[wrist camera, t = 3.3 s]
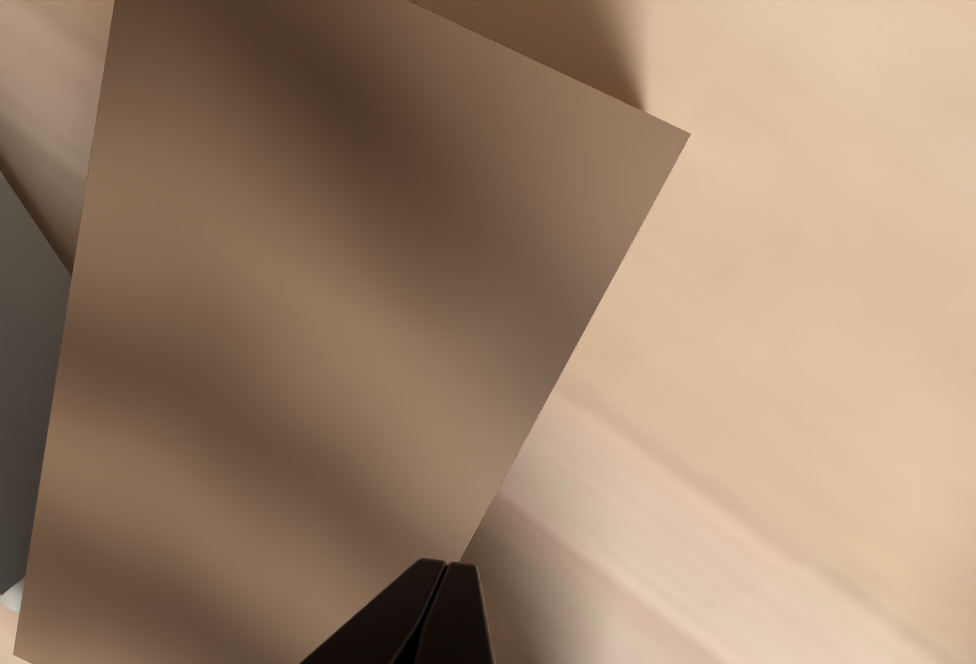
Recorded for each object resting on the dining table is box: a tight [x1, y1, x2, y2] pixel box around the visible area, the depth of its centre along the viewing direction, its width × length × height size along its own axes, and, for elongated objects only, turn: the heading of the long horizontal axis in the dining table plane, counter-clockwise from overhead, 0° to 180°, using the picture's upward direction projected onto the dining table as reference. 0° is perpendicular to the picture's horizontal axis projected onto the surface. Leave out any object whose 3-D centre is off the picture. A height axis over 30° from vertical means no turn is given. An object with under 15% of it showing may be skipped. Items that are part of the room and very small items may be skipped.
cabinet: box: [13, 0, 691, 664], centre depth 18 cm, size 20×10×9 cm, turn 156°
